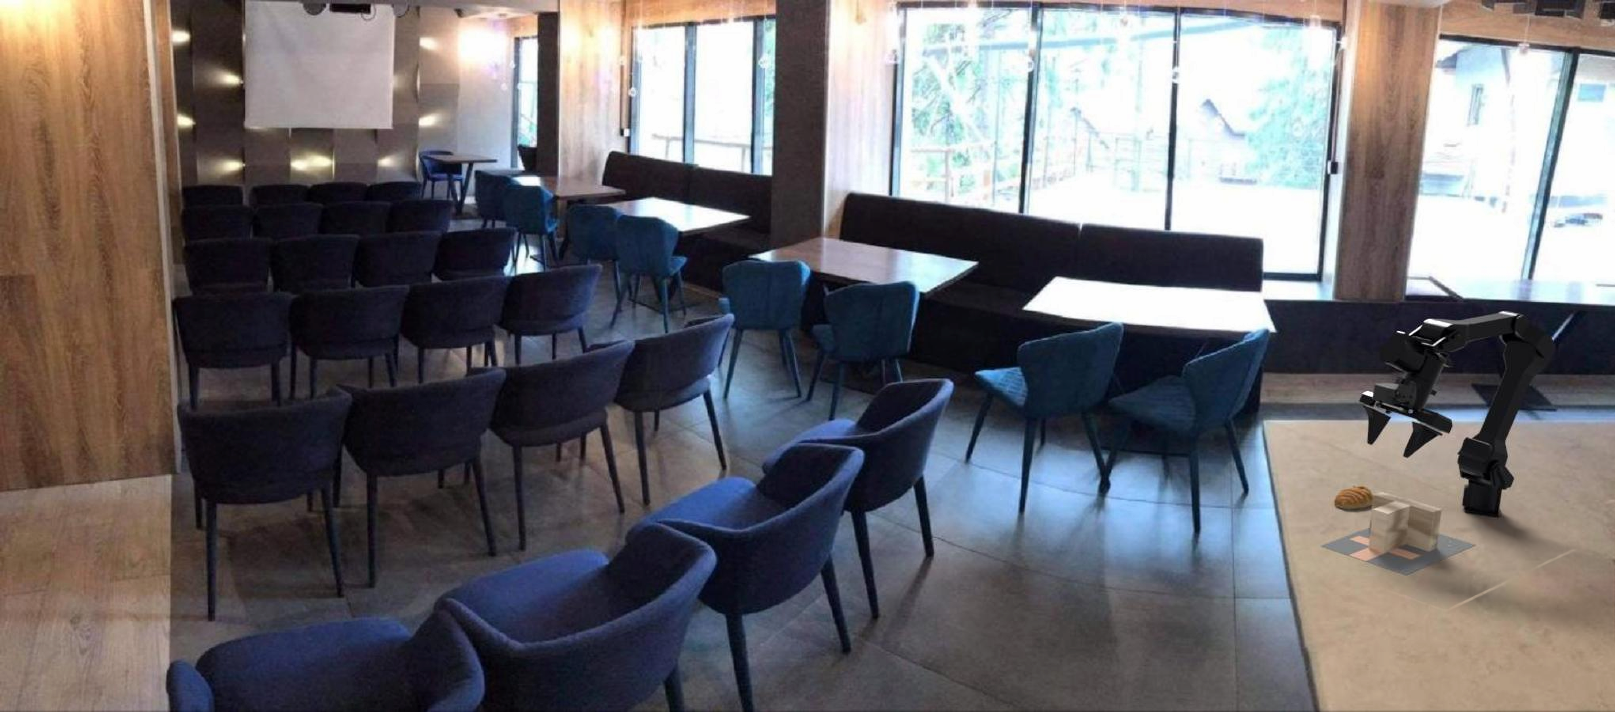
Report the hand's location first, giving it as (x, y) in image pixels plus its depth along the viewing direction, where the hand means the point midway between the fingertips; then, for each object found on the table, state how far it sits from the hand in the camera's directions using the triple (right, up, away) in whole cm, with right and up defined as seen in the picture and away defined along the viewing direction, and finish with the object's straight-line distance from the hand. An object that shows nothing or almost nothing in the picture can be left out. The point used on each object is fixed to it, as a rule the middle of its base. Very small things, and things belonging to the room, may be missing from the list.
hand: (1386, 450), depth 235 cm
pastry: (+1, -13, +16) cm, 21 cm away
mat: (-2, -18, -8) cm, 20 cm away
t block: (-3, -18, -7) cm, 19 cm away
